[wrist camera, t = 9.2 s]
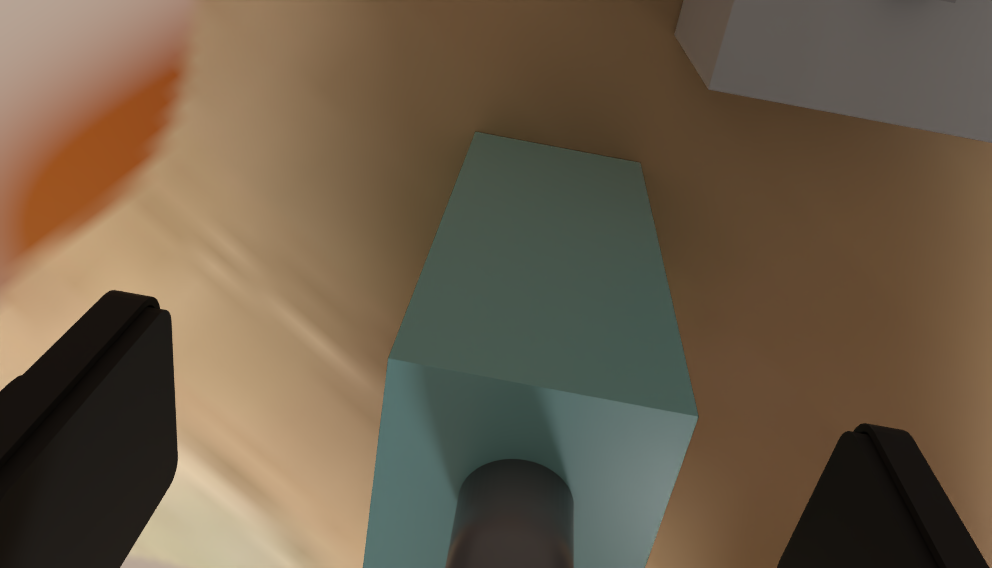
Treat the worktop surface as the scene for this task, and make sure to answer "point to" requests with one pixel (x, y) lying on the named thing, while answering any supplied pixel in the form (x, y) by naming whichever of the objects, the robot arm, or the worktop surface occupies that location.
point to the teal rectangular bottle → (533, 374)
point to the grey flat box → (851, 57)
